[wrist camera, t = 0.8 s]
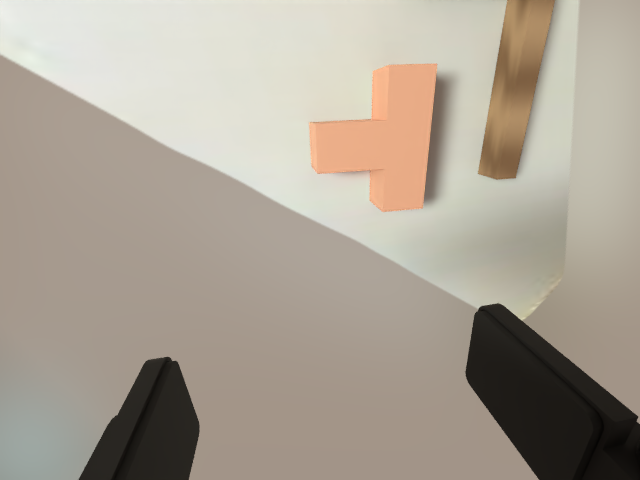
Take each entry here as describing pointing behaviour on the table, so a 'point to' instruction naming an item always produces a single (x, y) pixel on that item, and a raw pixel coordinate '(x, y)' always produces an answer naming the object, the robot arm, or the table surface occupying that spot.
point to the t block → (384, 137)
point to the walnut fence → (514, 85)
